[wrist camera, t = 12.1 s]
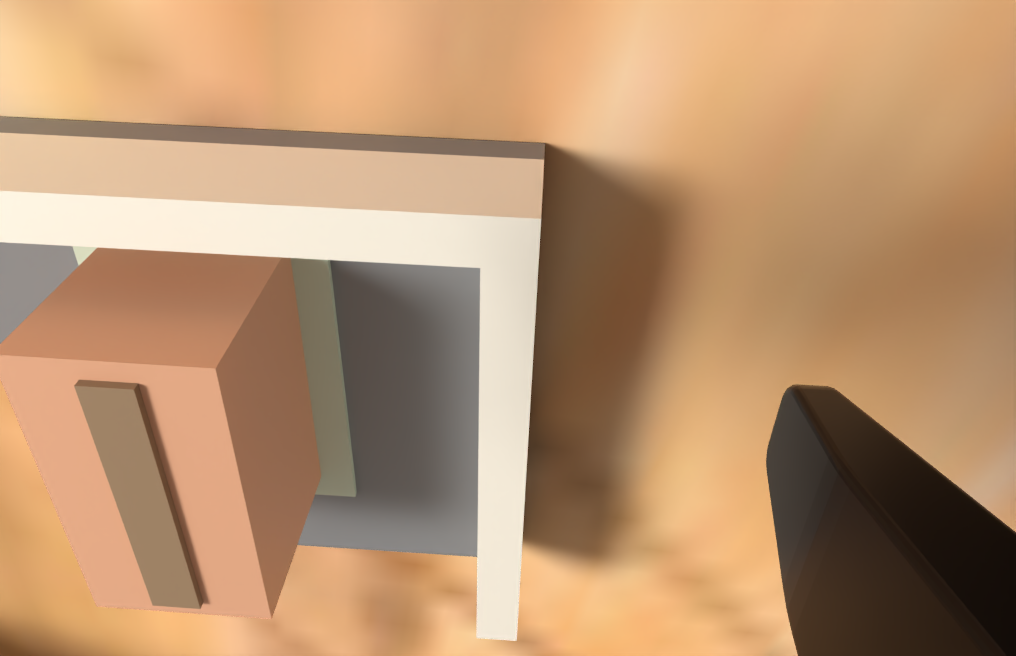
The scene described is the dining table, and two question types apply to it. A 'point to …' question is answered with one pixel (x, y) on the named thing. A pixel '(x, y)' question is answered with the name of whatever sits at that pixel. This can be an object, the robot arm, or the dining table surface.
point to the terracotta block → (171, 426)
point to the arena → (335, 302)
